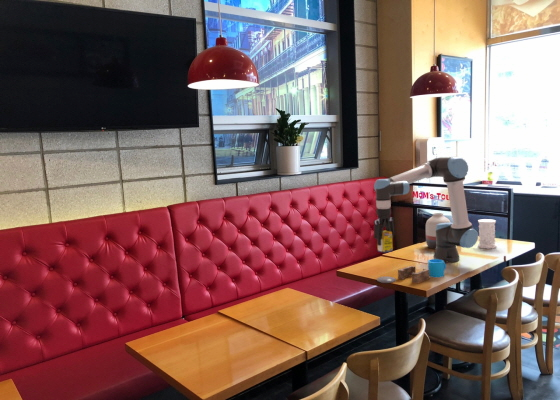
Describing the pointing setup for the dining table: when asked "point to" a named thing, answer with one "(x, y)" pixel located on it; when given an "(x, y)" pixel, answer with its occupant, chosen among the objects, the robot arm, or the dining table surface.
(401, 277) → the pocket
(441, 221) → the vase
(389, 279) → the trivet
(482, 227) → the decorative container
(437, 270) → the mug
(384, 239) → the supplement box
